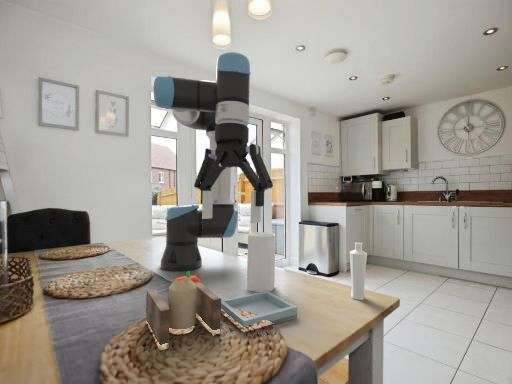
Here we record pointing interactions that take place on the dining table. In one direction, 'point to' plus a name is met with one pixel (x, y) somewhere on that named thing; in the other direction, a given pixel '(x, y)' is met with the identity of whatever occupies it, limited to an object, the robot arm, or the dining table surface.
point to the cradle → (160, 312)
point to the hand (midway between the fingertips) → (229, 220)
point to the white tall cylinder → (261, 261)
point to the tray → (259, 308)
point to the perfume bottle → (358, 271)
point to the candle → (182, 304)
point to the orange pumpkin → (192, 277)
